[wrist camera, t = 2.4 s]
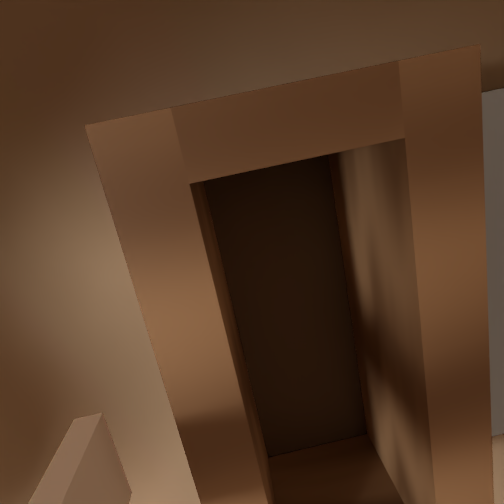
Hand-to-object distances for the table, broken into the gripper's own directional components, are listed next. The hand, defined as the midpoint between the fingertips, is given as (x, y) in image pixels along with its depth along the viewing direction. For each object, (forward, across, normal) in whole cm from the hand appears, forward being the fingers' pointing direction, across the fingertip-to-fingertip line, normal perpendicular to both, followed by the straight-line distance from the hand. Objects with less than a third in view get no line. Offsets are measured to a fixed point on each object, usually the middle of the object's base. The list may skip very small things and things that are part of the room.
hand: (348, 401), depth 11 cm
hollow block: (+5, -1, 0) cm, 5 cm away
